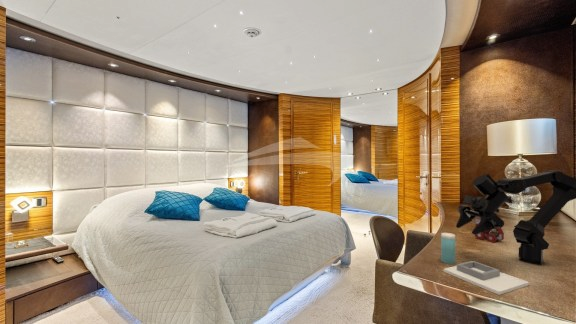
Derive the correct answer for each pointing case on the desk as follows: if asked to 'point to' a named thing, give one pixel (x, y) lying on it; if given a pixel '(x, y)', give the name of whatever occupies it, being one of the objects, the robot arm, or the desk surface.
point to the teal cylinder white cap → (448, 248)
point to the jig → (486, 277)
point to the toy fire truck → (490, 236)
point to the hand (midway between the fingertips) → (464, 230)
